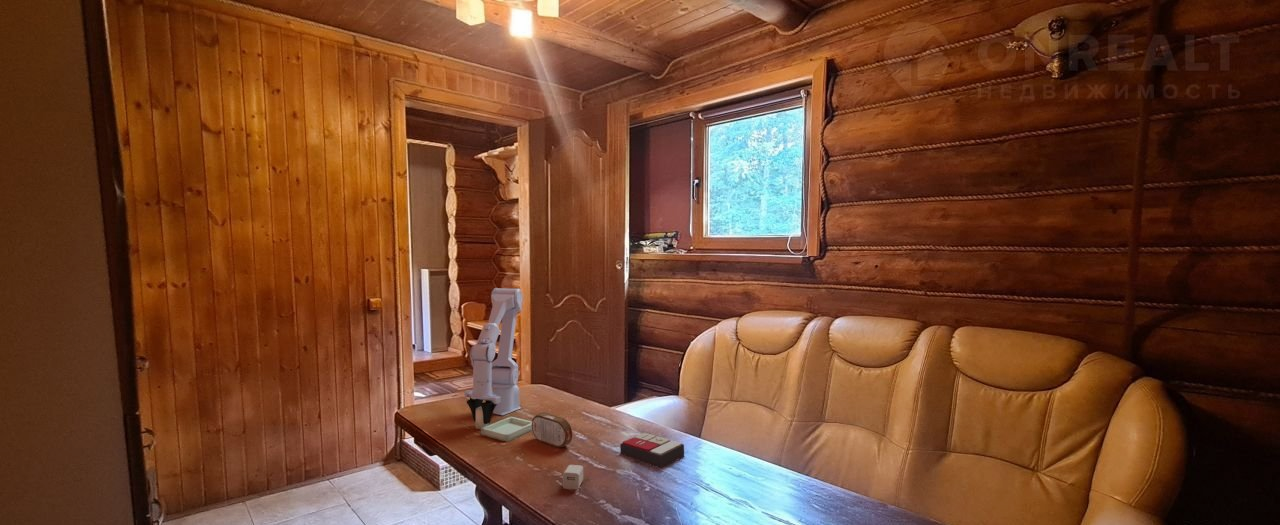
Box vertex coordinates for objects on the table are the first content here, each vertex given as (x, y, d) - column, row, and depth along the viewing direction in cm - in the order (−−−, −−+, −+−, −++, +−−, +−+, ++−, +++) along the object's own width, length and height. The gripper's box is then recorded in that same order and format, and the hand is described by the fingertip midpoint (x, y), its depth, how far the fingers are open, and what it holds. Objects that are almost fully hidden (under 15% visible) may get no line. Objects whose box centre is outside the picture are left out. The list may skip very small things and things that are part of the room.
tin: (573, 448, 142) (573, 419, 142) (565, 451, 139) (565, 422, 139) (537, 436, 150) (537, 409, 150) (529, 439, 148) (530, 412, 148)
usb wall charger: (562, 488, 117) (562, 472, 117) (570, 475, 124) (570, 460, 124) (578, 489, 117) (578, 473, 117) (585, 476, 123) (585, 461, 123)
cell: (482, 423, 160) (482, 404, 160) (491, 426, 158) (491, 406, 158) (472, 427, 157) (473, 407, 157) (481, 429, 155) (481, 409, 155)
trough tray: (511, 422, 162) (511, 416, 162) (536, 428, 157) (536, 422, 157) (480, 434, 151) (480, 428, 151) (506, 441, 145) (506, 435, 145)
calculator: (644, 431, 147) (684, 441, 137) (644, 445, 147) (684, 456, 137) (619, 441, 139) (660, 453, 129) (619, 456, 139) (661, 469, 129)
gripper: (457, 379, 157) (456, 421, 158) (489, 386, 150) (488, 429, 151) (474, 375, 164) (473, 415, 164) (505, 381, 156) (505, 423, 157)
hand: (482, 421), depth 158 cm, fingers open, 4 cm apart
